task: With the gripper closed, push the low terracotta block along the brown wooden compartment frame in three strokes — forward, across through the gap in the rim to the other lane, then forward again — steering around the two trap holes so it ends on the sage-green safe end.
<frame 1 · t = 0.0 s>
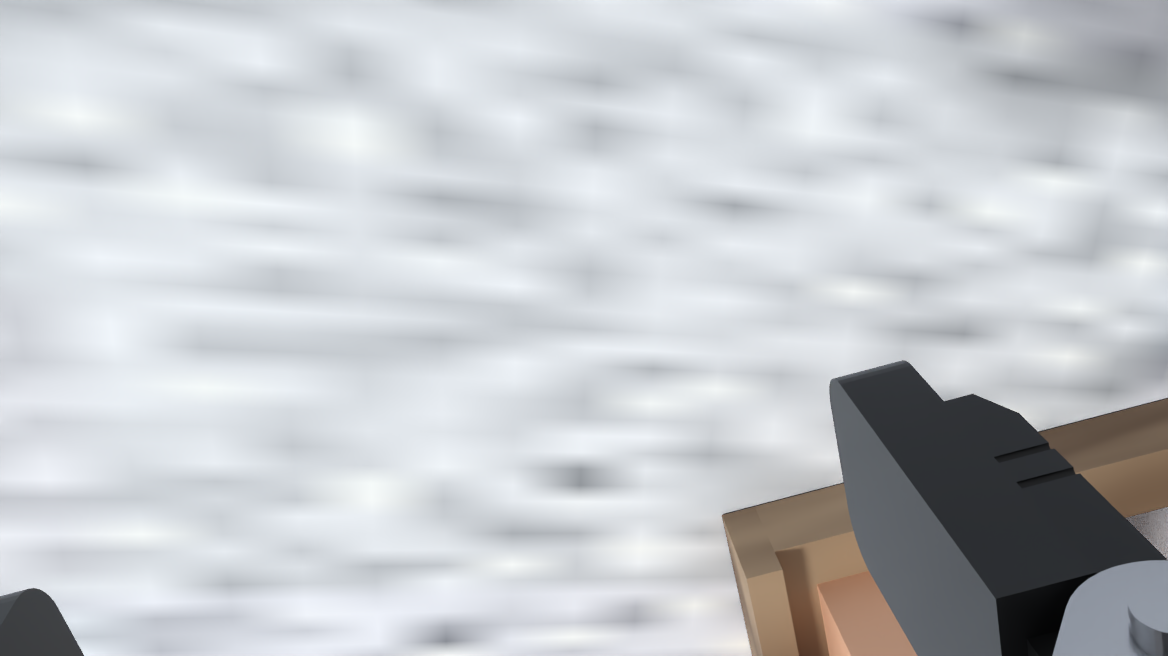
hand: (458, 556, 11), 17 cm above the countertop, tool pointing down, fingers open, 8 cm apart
block: (911, 628, 32), point 2 cm above the countertop, touching brown wooden compartment frame
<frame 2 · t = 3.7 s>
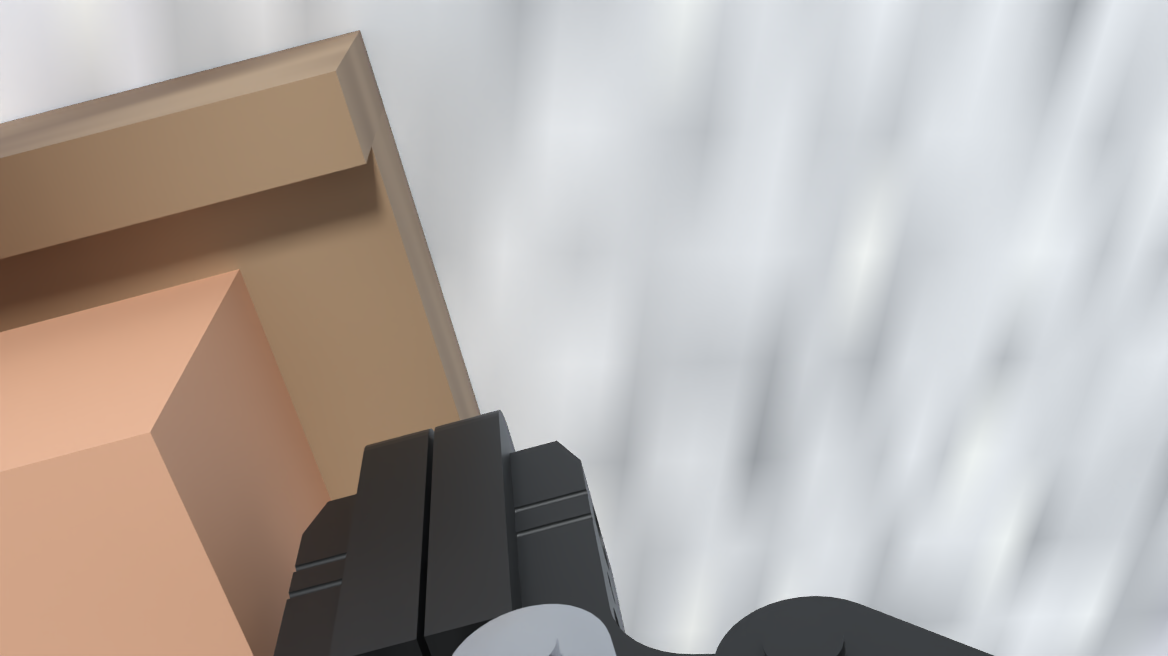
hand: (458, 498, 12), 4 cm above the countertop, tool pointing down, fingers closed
block: (118, 501, 14), point 2 cm above the countertop, touching brown wooden compartment frame
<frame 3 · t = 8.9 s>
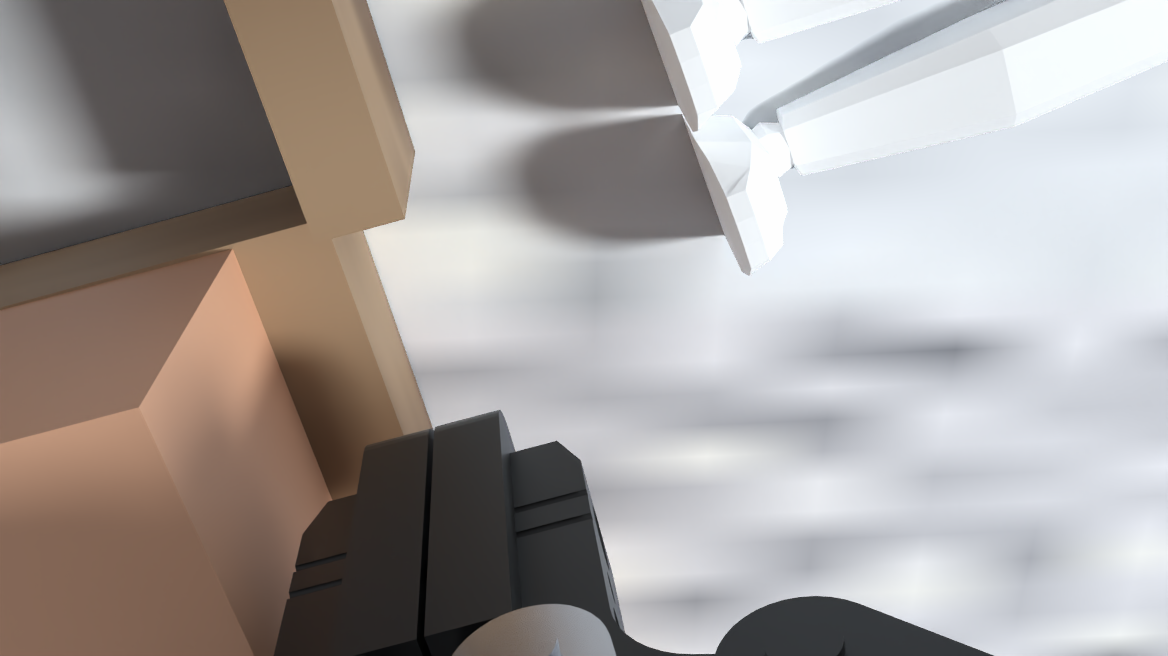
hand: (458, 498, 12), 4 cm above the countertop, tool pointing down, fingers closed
block: (110, 484, 14), point 2 cm above the countertop, touching gripper, brown wooden compartment frame
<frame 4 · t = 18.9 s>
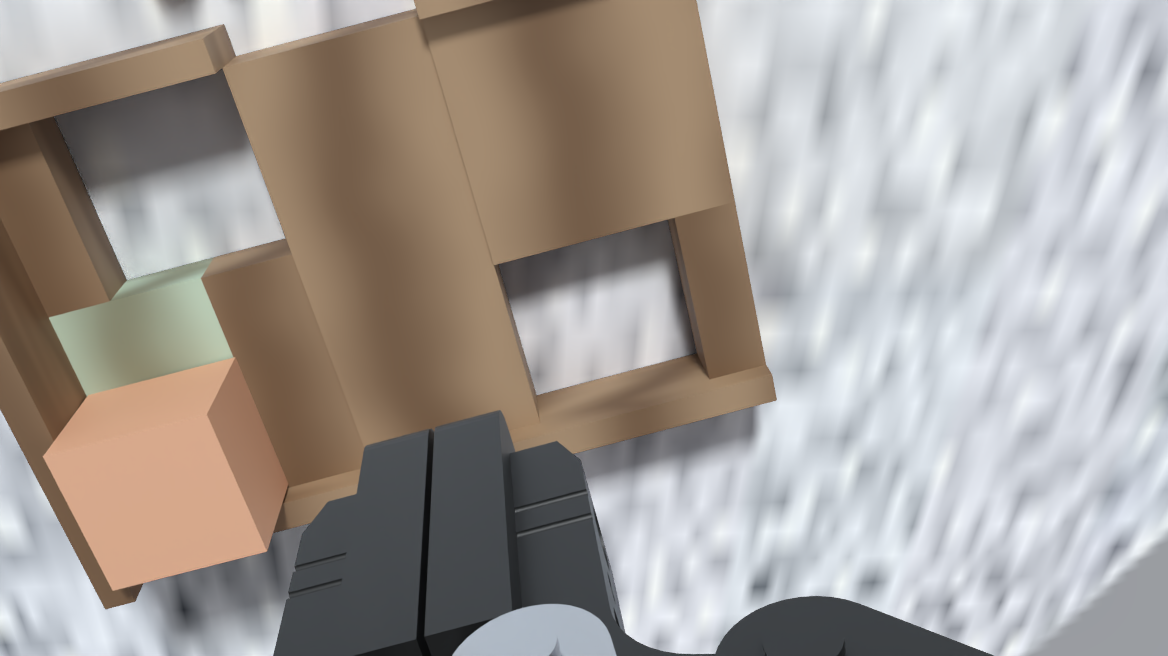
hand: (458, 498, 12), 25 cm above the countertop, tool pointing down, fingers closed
block: (190, 440, 37), point 2 cm above the countertop, touching brown wooden compartment frame
brown wooden compartment frame: (397, 238, 37), on the countertop
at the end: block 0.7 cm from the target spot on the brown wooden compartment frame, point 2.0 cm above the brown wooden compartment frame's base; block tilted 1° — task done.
